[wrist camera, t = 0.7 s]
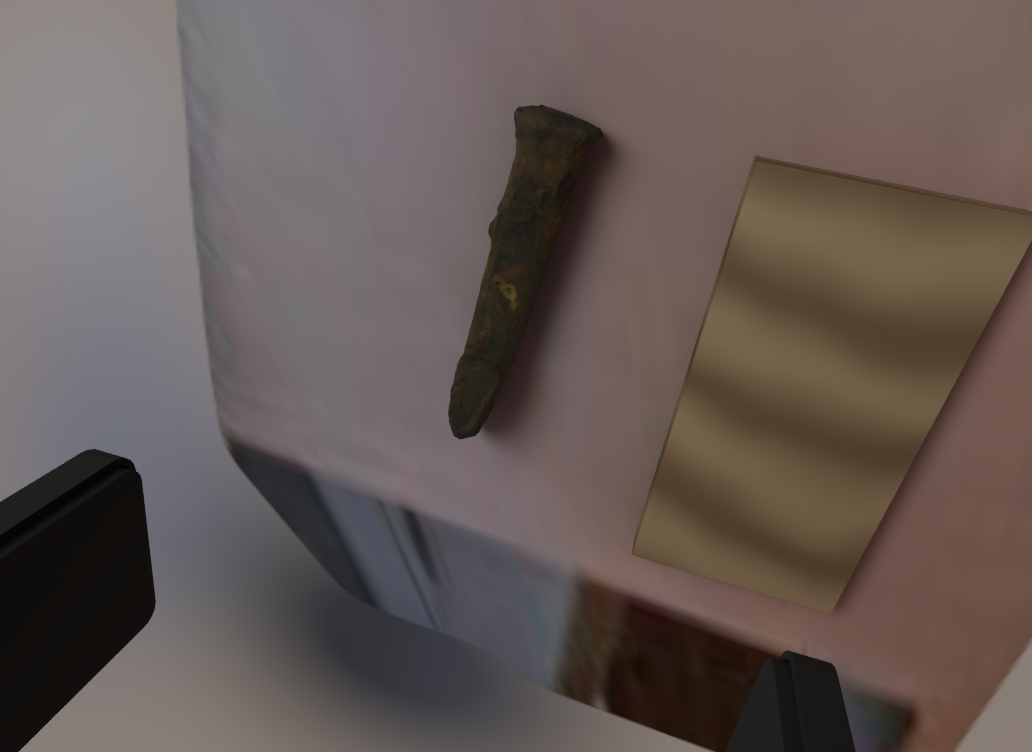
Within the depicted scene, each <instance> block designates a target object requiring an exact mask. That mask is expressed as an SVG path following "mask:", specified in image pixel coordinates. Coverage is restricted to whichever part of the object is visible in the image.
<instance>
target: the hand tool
mask: <svg viewBox="0 0 1032 752" xmlns="http://www.w3.org/2000/svg"><path fill="white" fill-rule="evenodd" d="M514 119H515V127H516V133H515V136H516V140H517V142H516V155H515V159H514V162H513V164H512V169H511V172H510V175H509V180H508V185H507V187H506V190H505V193H504V196H503V198H502V200H501V201H500V204H499V206H498V208H497V213H498V214H497V215H496V217H495V218H494V220H493V221H492V222H491V223H490V225H489V231H488V233H489V235H490V238H491V250H490V253H489V257H488V261H487V265H486V268H485V272H484V275H483V279H482V282H481V287H480V293H479V296H478V300H477V304H476V308H475V312H474V317H473V320H472V324H471V327H470V331H469V335H468V339H467V342H466V345H465V350H464V354H463V355H462V357H461V358H460V360H459V362H458V365H457V370H456V372H455V379H454V382H453V385H452V388H451V400H450V404H449V412H448V415H449V423H450V426H451V429H452V432H453V435H454V436H455V437H457V438H458V439H464V438H468V437H473V436H476V435H477V434H478V433H479V431H480V429H481V427H482V426H483V424H484V422H485V420H486V419H487V417H488V415H489V413H490V411H491V409H492V408H493V406H494V399H495V397H496V395H497V393H498V392H499V390H500V388H501V386H502V384H503V382H504V380H505V379H506V377H507V375H508V373H509V371H510V369H511V367H512V365H513V363H514V360H515V353H516V349H517V346H518V343H519V341H520V338H521V335H522V333H523V330H524V327H525V324H526V322H527V320H528V317H529V314H530V311H531V308H532V305H533V303H534V300H535V297H536V295H537V292H538V289H539V286H540V283H541V280H542V276H543V272H544V269H545V267H546V264H547V261H548V258H549V255H550V252H551V250H552V249H553V247H554V245H555V240H556V238H557V236H558V234H559V232H560V229H561V226H562V223H563V220H564V217H565V212H566V210H567V207H568V204H569V201H570V193H571V190H572V187H573V185H574V182H575V179H576V176H577V173H578V170H579V168H580V165H581V163H582V160H583V157H584V155H585V152H586V150H587V149H588V147H589V146H590V144H592V143H594V142H596V141H597V140H598V139H599V138H600V137H601V136H603V135H604V134H603V133H602V131H601V129H600V128H597V127H595V126H593V125H592V124H590V123H588V122H586V121H584V120H581V119H579V118H576V117H574V116H572V115H570V114H567V113H564V112H561V111H558V110H555V109H552V108H549V107H546V106H544V105H540V106H534V105H532V106H525V107H518V108H517V109H516V111H515V112H514Z"/></svg>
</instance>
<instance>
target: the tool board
mask: <svg viewBox="0 0 1032 752" xmlns="http://www.w3.org/2000/svg"><path fill="white" fill-rule="evenodd" d="M1031 241H1032V212H1031V211H1028V210H1023V209H1018V208H1013V207H1008V206H1003V205H998V204H993V203H988V202H983V201H978V200H973V199H968V198H963V197H958V196H953V195H948V194H943V193H938V192H933V191H928V190H923V189H918V188H913V187H908V186H903V185H898V184H893V183H888V182H883V181H878V180H873V179H868V178H863V177H858V176H853V175H848V174H843V173H838V172H833V171H828V170H823V169H818V168H813V167H809V166H804V165H799V164H794V163H789V162H784V161H779V160H774V159H769V158H764V157H759V156H755V157H754V160H753V163H752V167H751V170H750V173H749V176H748V179H747V182H746V186H745V189H744V192H743V195H742V198H741V202H740V205H739V208H738V211H737V214H736V217H735V221H734V224H733V227H732V230H731V233H730V237H729V240H728V243H727V246H726V249H725V252H724V256H723V259H722V262H721V265H720V268H719V271H718V275H717V278H716V281H715V284H714V287H713V291H712V294H711V297H710V300H709V303H708V306H707V310H706V313H705V316H704V319H703V322H702V326H701V329H700V332H699V335H698V338H697V341H696V345H695V348H694V351H693V354H692V357H691V361H690V364H689V367H688V370H687V373H686V376H685V380H684V383H683V386H682V389H681V392H680V396H679V399H678V402H677V405H676V408H675V411H674V415H673V418H672V421H671V424H670V427H669V431H668V434H667V437H666V440H665V443H664V446H663V450H662V453H661V456H660V459H659V462H658V466H657V469H656V472H655V475H654V478H653V481H652V485H651V488H650V491H649V494H648V497H647V501H646V504H645V507H644V510H643V513H642V516H641V520H640V523H639V526H638V529H637V532H636V536H635V539H634V544H633V551H632V555H634V556H638V557H641V558H644V559H648V560H651V561H654V562H658V563H661V564H664V565H668V566H671V567H674V568H678V569H681V570H684V571H688V572H691V573H694V574H698V575H701V576H704V577H708V578H711V579H714V580H718V581H721V582H724V583H728V584H731V585H734V586H738V587H741V588H744V589H748V590H751V591H754V592H758V593H761V594H764V595H768V596H771V597H774V598H778V599H781V600H784V601H788V602H791V603H795V604H798V605H801V606H805V607H808V608H811V609H815V610H818V611H821V612H825V613H828V614H831V613H832V611H833V609H834V607H835V605H836V603H837V602H838V600H839V598H840V596H841V594H842V592H843V590H844V589H845V587H846V585H847V583H848V581H849V579H850V577H851V576H852V574H853V572H854V570H855V568H856V566H857V564H858V563H859V561H860V559H861V557H862V555H863V553H864V551H865V550H866V548H867V546H868V544H869V542H870V540H871V538H872V536H873V535H874V533H875V531H876V529H877V527H878V525H879V523H880V522H881V520H882V518H883V516H884V514H885V512H886V510H887V509H888V507H889V505H890V503H891V501H892V499H893V497H894V496H895V494H896V492H897V490H898V488H899V486H900V484H901V483H902V481H903V479H904V477H905V475H906V473H907V471H908V470H909V468H910V466H911V464H912V462H913V460H914V458H915V457H916V455H917V453H918V451H919V449H920V447H921V445H922V444H923V442H924V440H925V438H926V436H927V434H928V432H929V431H930V429H931V427H932V425H933V423H934V421H935V419H936V418H937V416H938V414H939V412H940V410H941V408H942V406H943V404H944V403H945V401H946V399H947V397H948V395H949V393H950V391H951V390H952V388H953V386H954V384H955V382H956V380H957V378H958V377H959V375H960V373H961V371H962V369H963V367H964V365H965V364H966V362H967V360H968V358H969V356H970V354H971V352H972V351H973V349H974V347H975V345H976V343H977V341H978V339H979V338H980V336H981V334H982V332H983V330H984V328H985V326H986V325H987V323H988V321H989V319H990V317H991V315H992V313H993V312H994V310H995V308H996V306H997V304H998V302H999V300H1000V299H1001V297H1002V295H1003V293H1004V291H1005V289H1006V287H1007V285H1008V284H1009V282H1010V280H1011V278H1012V276H1013V274H1014V272H1015V271H1016V269H1017V267H1018V265H1019V263H1020V261H1021V259H1022V258H1023V256H1024V254H1025V252H1026V250H1027V248H1028V246H1029V245H1030V243H1031Z"/></svg>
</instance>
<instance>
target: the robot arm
mask: <svg viewBox="0 0 1032 752" xmlns="http://www.w3.org/2000/svg"><path fill="white" fill-rule="evenodd" d="M155 601H156V600H155V592H154V583H153V574H152V565H151V557H150V548H149V540H148V530H147V522H146V514H145V504H144V495H143V487H142V479H141V476H140V474H139V473H138V472H136V469H135V466H134V464H133V462H132V461H131V460H129V459H126V458H123V457H120V456H116V455H113V454H110V453H106V452H103V451H99V450H96V449H92V450H87V451H84V452H82V453H80V454H78V455H77V456H75V457H74V458H72V459H70V460H69V461H67V462H65V463H64V464H62V465H60V466H59V467H57V468H55V469H54V470H52V471H50V472H49V473H47V474H45V475H44V476H42V477H41V478H39V479H37V480H36V481H34V482H33V483H31V484H29V485H28V486H26V487H24V488H23V489H21V490H19V491H18V492H16V493H14V494H13V495H11V496H9V497H8V498H6V499H4V500H3V501H1V502H0V752H19V751H20V750H21V748H23V747H24V746H25V745H26V744H27V743H28V741H30V740H31V739H32V738H33V737H34V736H35V735H36V734H37V733H38V732H39V731H40V730H41V729H42V728H43V727H44V726H45V725H46V724H47V723H48V722H49V721H50V720H51V719H52V718H53V717H54V716H55V715H56V714H57V713H58V712H59V711H60V710H61V709H62V708H63V707H64V706H65V705H66V704H67V703H68V702H69V701H70V700H71V699H72V698H73V697H74V696H75V695H76V694H77V693H78V692H79V691H80V690H81V689H82V688H83V687H84V686H85V685H86V684H87V683H88V682H89V681H90V680H91V679H92V678H93V677H94V676H95V675H96V674H97V673H98V672H99V671H100V670H101V669H102V668H103V667H104V666H105V665H106V664H107V663H108V662H109V661H110V660H111V659H113V658H114V656H115V655H117V654H118V653H119V652H120V651H121V649H123V648H124V647H125V645H127V644H128V643H129V642H130V641H131V640H132V638H134V637H135V636H136V634H137V633H139V632H140V631H141V630H142V629H143V628H144V626H145V625H146V624H147V623H148V622H149V620H150V618H151V617H152V614H153V612H154V609H155ZM725 752H856V751H855V747H854V743H853V739H852V734H851V730H850V726H849V722H848V717H847V713H846V709H845V705H844V700H843V696H842V692H841V687H840V683H839V679H838V675H837V672H836V669H835V667H834V666H833V664H832V663H829V662H825V661H822V660H818V659H815V658H811V657H808V656H805V655H801V654H798V653H794V652H791V651H785V652H784V653H783V654H782V656H781V657H780V659H779V660H777V659H774V658H770V657H768V658H767V659H766V660H765V662H764V664H763V666H762V668H761V670H760V673H759V675H758V677H757V680H756V682H755V684H754V687H753V689H752V691H751V693H750V696H749V698H748V700H747V703H746V705H745V707H744V710H743V712H742V714H741V717H740V719H739V721H738V723H737V726H736V728H735V730H734V733H733V735H732V737H731V740H730V742H729V744H728V747H727V749H726V751H725Z"/></svg>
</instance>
